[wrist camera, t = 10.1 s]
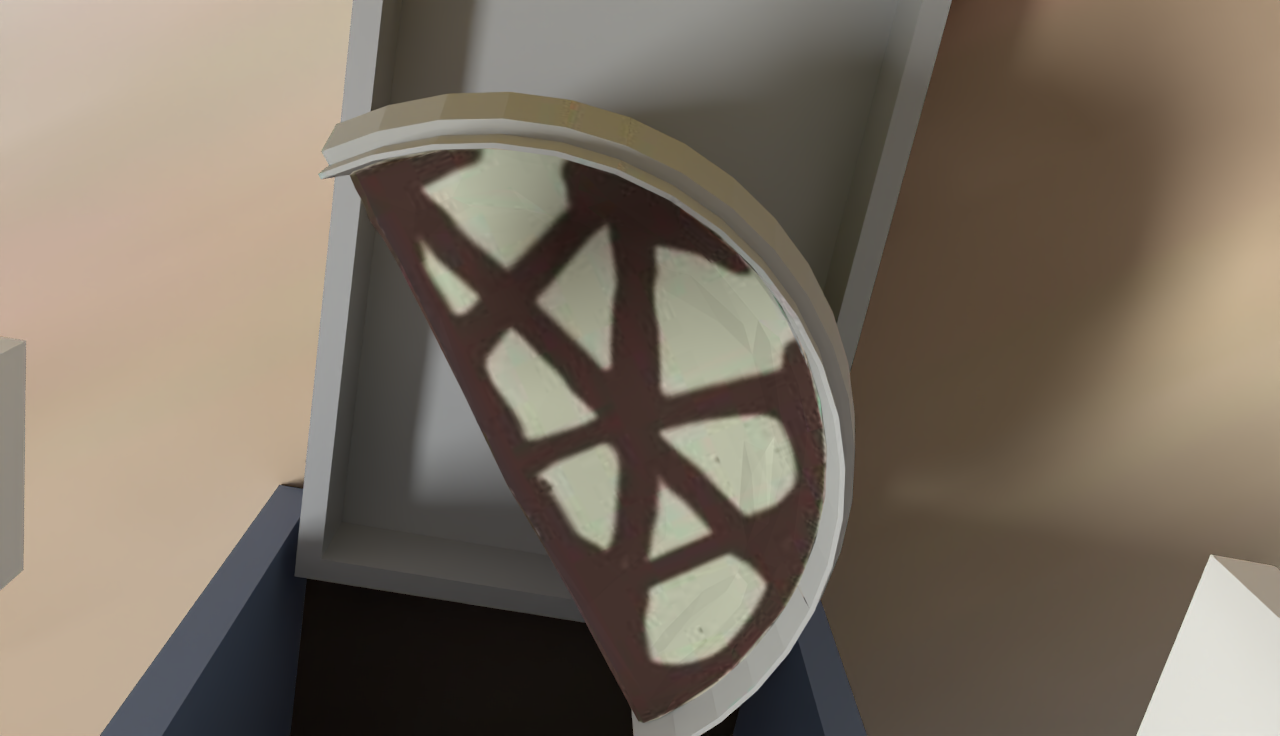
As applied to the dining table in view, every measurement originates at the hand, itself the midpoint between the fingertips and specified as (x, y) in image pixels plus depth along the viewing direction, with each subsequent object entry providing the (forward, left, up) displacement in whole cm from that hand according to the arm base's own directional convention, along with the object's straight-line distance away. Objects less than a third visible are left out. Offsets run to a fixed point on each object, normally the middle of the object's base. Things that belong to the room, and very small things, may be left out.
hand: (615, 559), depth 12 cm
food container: (-1, 0, -15) cm, 15 cm away
